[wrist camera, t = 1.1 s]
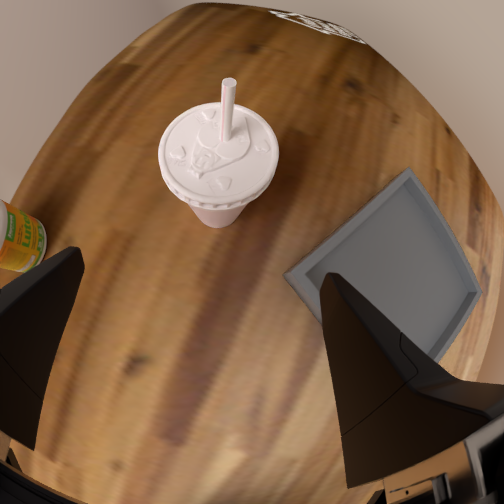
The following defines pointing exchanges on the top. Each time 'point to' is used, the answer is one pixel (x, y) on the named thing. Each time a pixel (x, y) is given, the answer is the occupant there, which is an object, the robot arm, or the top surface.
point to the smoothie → (218, 158)
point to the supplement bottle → (20, 239)
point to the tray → (398, 265)
